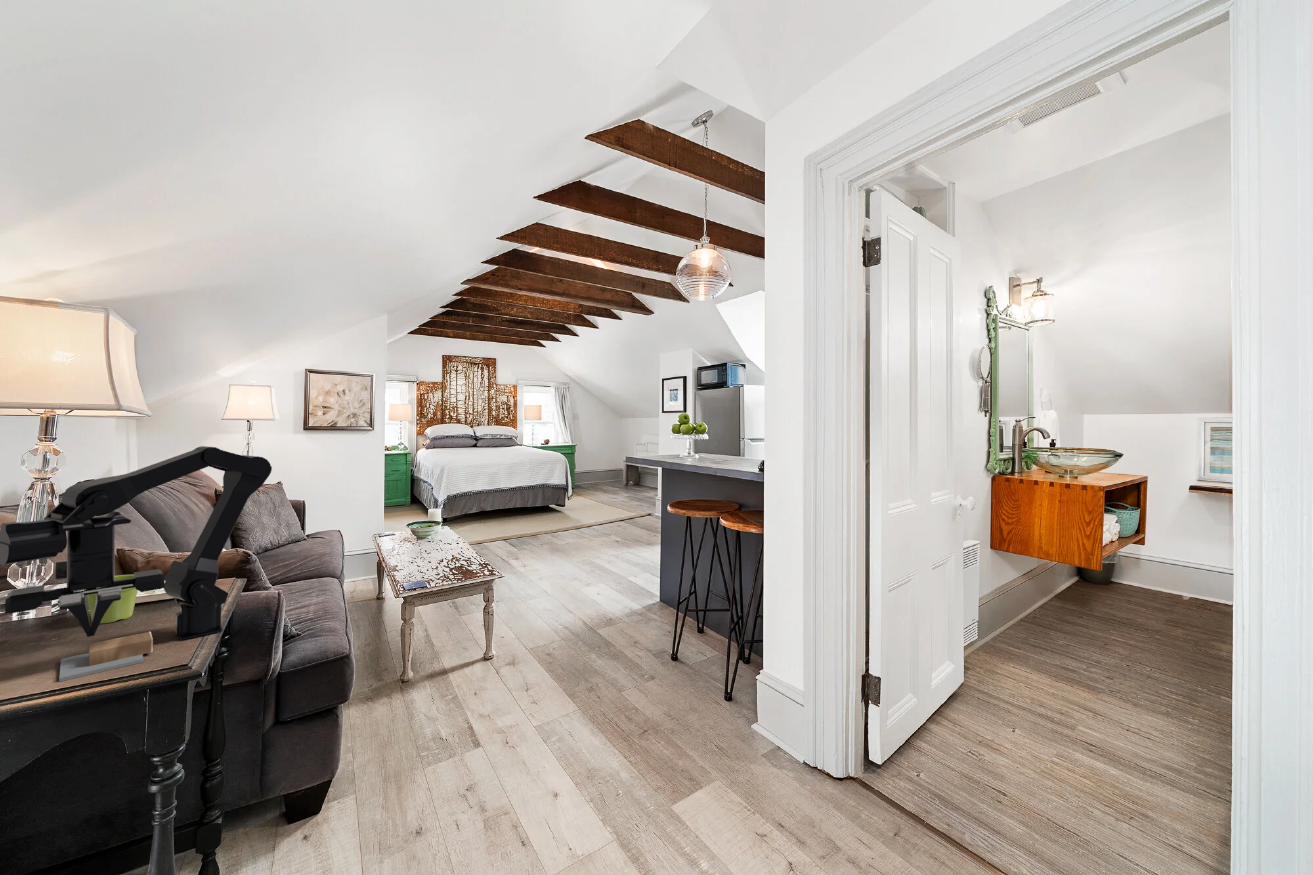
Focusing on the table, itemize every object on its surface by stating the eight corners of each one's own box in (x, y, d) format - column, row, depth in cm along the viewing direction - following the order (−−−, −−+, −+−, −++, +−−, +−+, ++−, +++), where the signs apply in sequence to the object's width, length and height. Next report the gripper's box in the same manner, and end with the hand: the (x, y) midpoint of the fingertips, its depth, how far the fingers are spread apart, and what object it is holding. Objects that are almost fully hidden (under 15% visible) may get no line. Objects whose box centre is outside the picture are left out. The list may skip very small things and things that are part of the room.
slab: (88, 657, 91) (150, 643, 97) (89, 666, 88) (152, 651, 94) (89, 643, 91) (150, 631, 97) (89, 652, 88) (152, 638, 94)
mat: (139, 645, 98) (139, 642, 98) (143, 661, 92) (143, 658, 92) (60, 661, 90) (61, 658, 90) (59, 681, 84) (59, 678, 84)
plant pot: (94, 614, 112) (95, 576, 112) (150, 608, 116) (151, 572, 116) (70, 629, 104) (70, 589, 103) (131, 623, 108) (131, 584, 108)
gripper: (159, 536, 102) (158, 610, 102) (11, 551, 88) (11, 637, 88) (165, 546, 95) (164, 625, 95) (4, 564, 80) (4, 658, 81)
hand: (90, 635), depth 90 cm, fingers closed
